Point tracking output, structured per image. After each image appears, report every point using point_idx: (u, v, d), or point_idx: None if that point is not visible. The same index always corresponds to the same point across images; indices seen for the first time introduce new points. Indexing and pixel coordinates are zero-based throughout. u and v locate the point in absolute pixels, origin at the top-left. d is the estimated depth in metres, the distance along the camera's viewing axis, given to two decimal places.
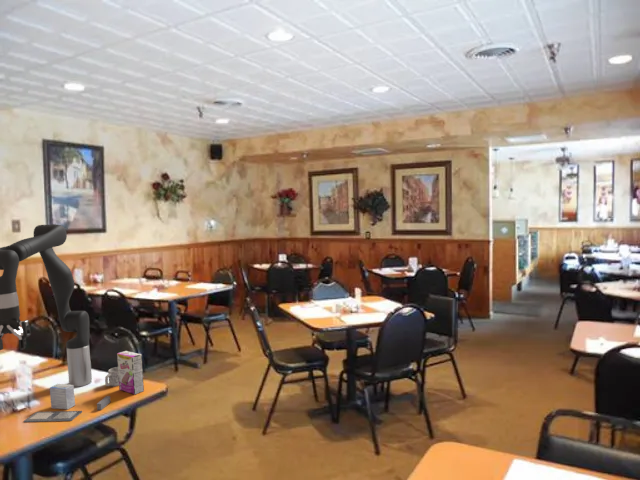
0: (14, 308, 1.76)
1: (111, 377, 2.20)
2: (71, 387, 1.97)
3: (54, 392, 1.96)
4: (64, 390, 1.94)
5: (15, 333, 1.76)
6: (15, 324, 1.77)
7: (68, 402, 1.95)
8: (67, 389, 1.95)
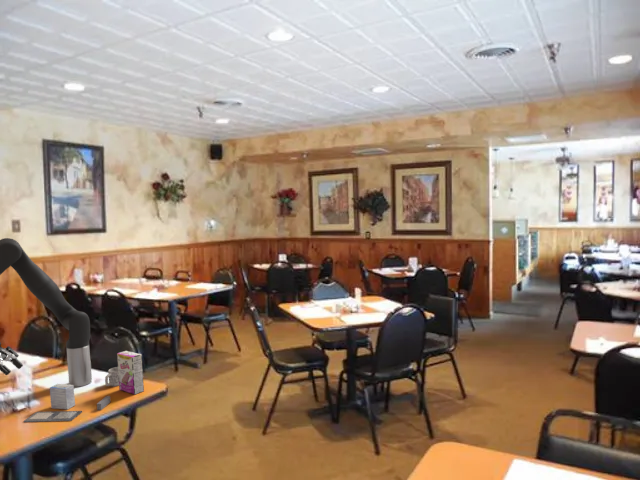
0: None
1: (111, 377, 2.20)
2: (71, 387, 1.97)
3: (54, 392, 1.96)
4: (64, 390, 1.94)
5: None
6: None
7: (68, 402, 1.95)
8: (67, 389, 1.95)
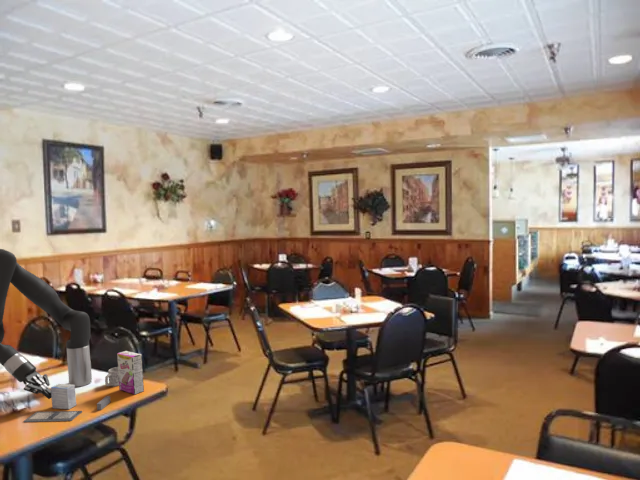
0: (14, 374, 1.94)
1: (111, 377, 2.20)
2: (72, 387, 1.97)
3: (56, 392, 1.96)
4: (65, 390, 1.94)
5: None
6: None
7: (69, 401, 1.95)
8: (68, 389, 1.95)
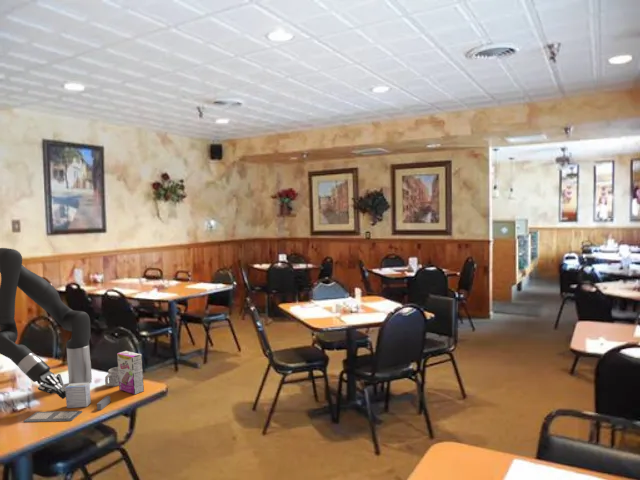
0: (28, 373, 1.94)
1: (111, 377, 2.20)
2: (88, 385, 1.99)
3: (71, 392, 1.96)
4: (83, 388, 1.96)
5: None
6: None
7: (87, 399, 1.97)
8: (86, 386, 1.97)
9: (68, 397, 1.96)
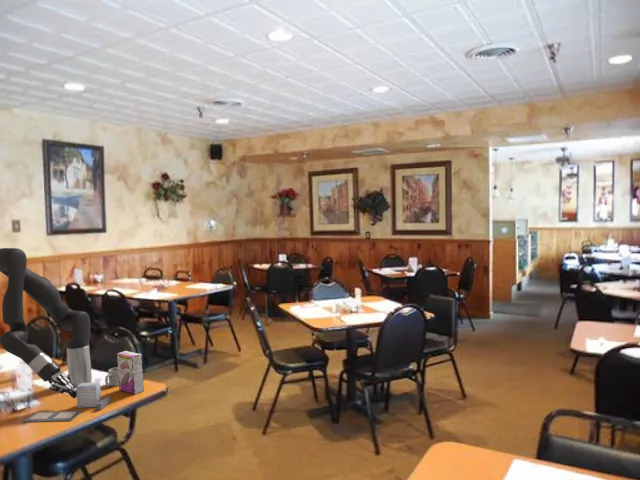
0: (39, 373, 1.93)
1: (111, 377, 2.20)
2: (99, 384, 1.99)
3: (82, 391, 1.96)
4: (94, 388, 1.96)
5: None
6: None
7: (97, 399, 1.97)
8: (96, 386, 1.97)
9: (79, 397, 1.96)
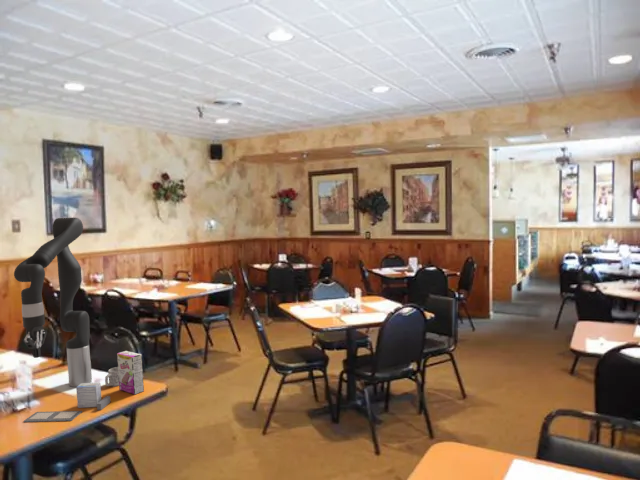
0: (25, 319, 1.92)
1: (111, 377, 2.20)
2: (99, 385, 1.99)
3: (82, 391, 1.96)
4: (94, 388, 1.96)
5: None
6: None
7: (98, 399, 1.97)
8: (97, 387, 1.97)
9: (79, 397, 1.96)
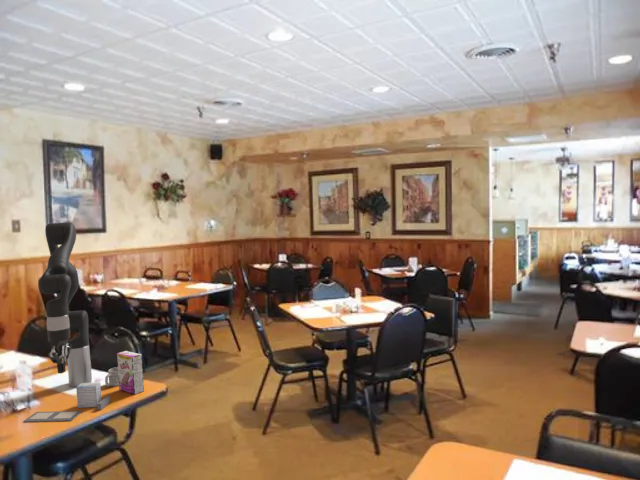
0: (50, 332, 1.83)
1: (111, 377, 2.20)
2: (99, 385, 1.99)
3: (82, 391, 1.96)
4: (94, 388, 1.96)
5: None
6: None
7: (98, 399, 1.97)
8: (97, 387, 1.97)
9: (79, 397, 1.96)
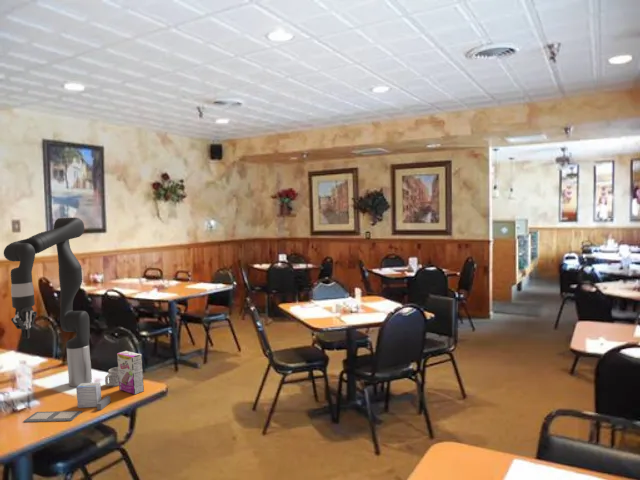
0: (14, 298, 1.89)
1: (111, 377, 2.20)
2: (99, 385, 1.99)
3: (82, 391, 1.96)
4: (94, 388, 1.96)
5: None
6: None
7: (98, 399, 1.97)
8: (97, 387, 1.97)
9: (79, 397, 1.96)
